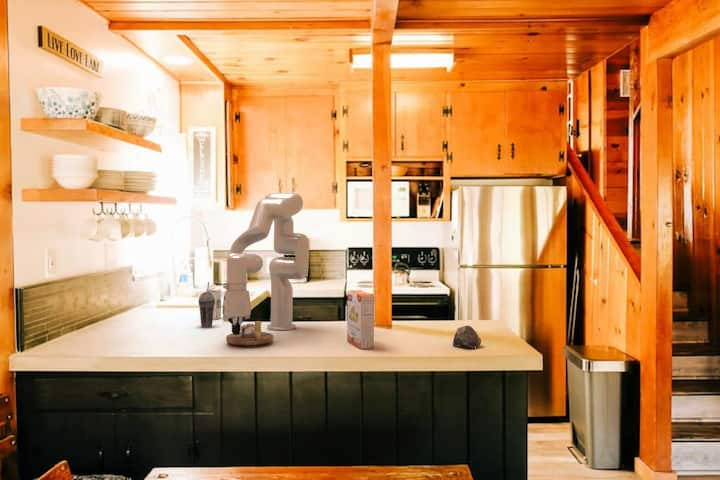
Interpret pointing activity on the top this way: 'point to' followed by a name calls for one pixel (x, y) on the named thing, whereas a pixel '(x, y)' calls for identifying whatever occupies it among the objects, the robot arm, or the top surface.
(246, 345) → the turntable base
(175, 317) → the top surface
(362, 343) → the cracker box
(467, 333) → the dark rock
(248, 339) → the turntable
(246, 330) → the cover
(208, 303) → the beverage cup
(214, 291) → the syrup box
